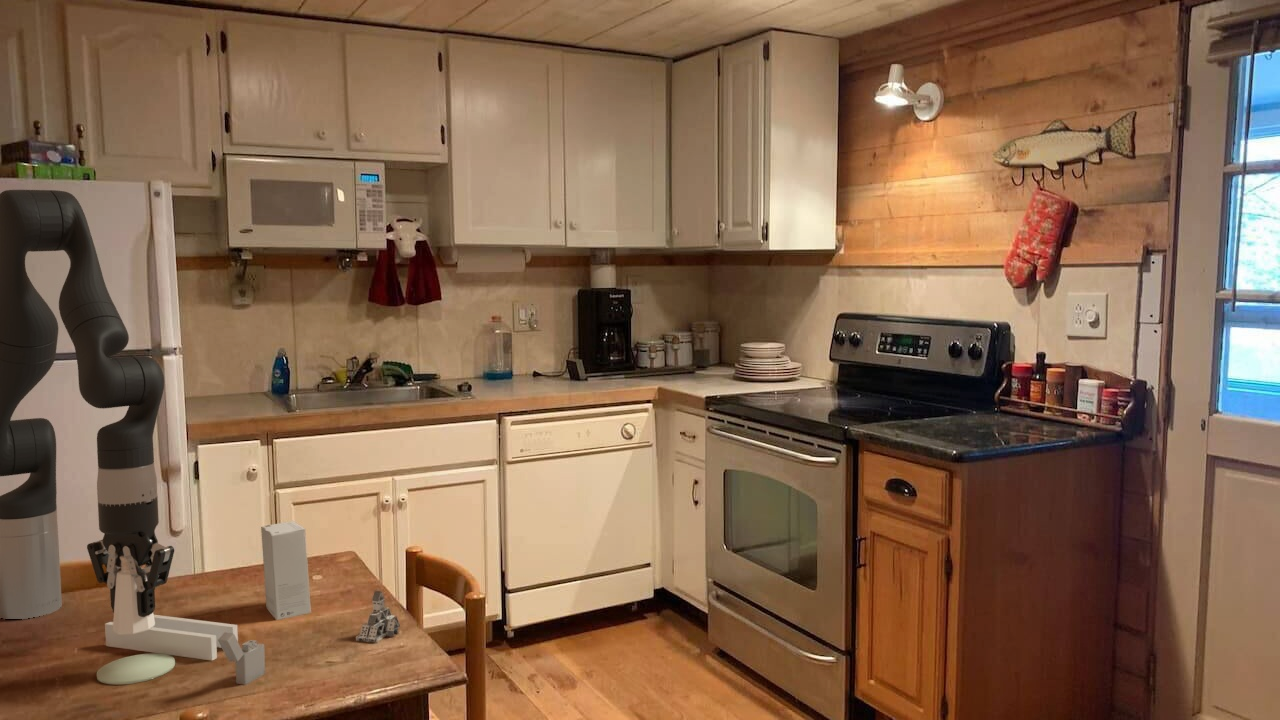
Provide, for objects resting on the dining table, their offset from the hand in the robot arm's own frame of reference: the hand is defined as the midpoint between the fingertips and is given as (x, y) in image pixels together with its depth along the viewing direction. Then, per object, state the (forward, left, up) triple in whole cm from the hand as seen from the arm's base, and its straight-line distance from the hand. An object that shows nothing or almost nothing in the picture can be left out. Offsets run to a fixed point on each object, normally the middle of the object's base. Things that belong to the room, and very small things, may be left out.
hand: (133, 613), depth 136 cm
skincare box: (+5, +27, -9) cm, 29 cm away
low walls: (-2, +9, -9) cm, 12 cm away
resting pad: (0, 0, -9) cm, 9 cm away
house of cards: (+28, +21, -9) cm, 37 cm away
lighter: (+18, +1, -9) cm, 20 cm away
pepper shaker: (0, 0, -2) cm, 2 cm away
